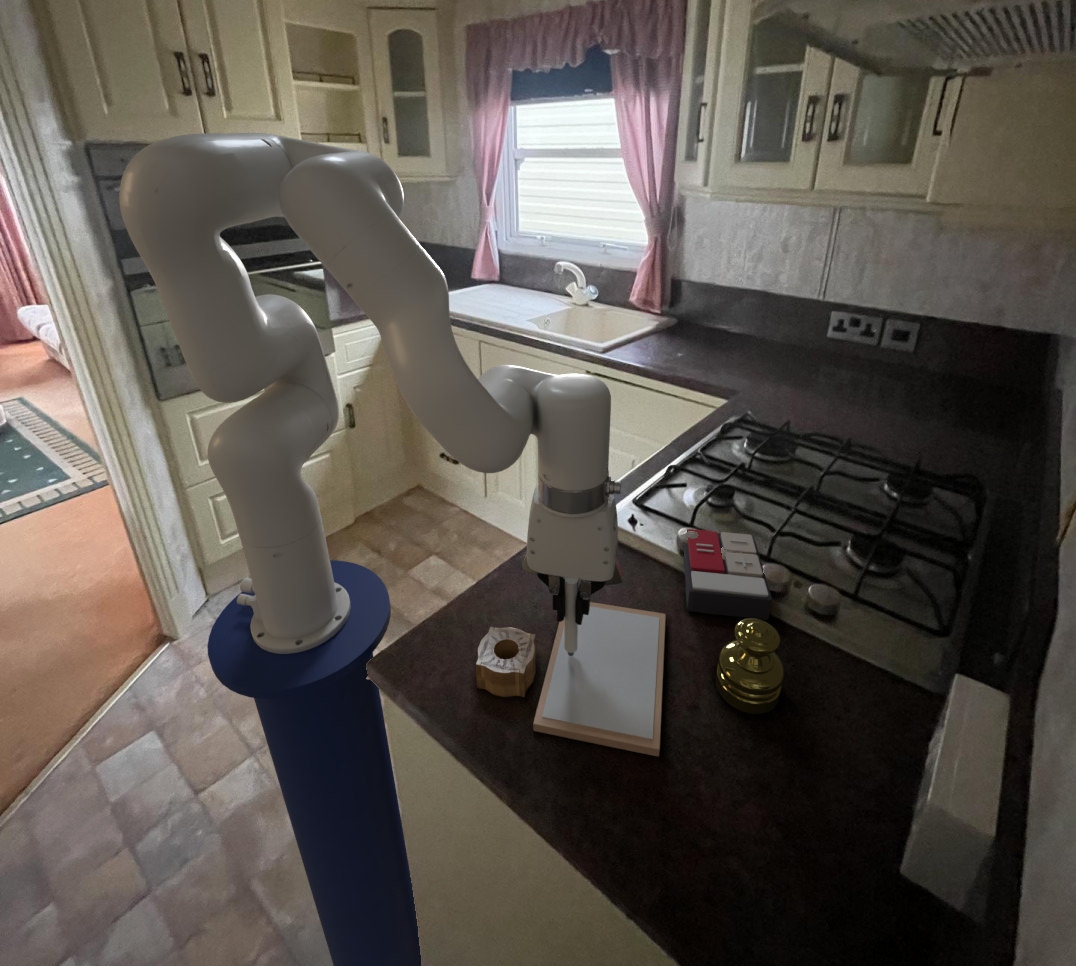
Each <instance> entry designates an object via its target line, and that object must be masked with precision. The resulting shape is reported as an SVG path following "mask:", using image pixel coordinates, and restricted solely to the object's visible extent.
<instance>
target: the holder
mask: <svg viewBox="0 0 1076 966" xmlns="http://www.w3.org/2000/svg"><path fill="white" fill-rule="evenodd" d="M536 637H537V635H536V634H534V633H528V632H525V631H523V630H522V629H521V628H516V627H510V626H507V627H493V626H489V629H488V632H487V634H485V635H484V636H483V637H482V638H481V640H480V642H479V644H478V647H477V648H476V649H477V659H476V661H475V675H476V688H477V689H482V690H486V691H487V692H489V693H490V694H492V695H494V696H498V697H503V698H509V697H514V696H516V697H522V698H525V697H526V694H527V691H528V689H529V688H530V686H531V685H532V684H533V683H534V680H535V677H536V669H537V668H536V667H537V666H536V664H537V663H536V661H537V660H536V658H537V642H536V641H537V638H536Z"/></svg>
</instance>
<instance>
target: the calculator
mask: <svg viewBox="0 0 1076 966" xmlns="http://www.w3.org/2000/svg"><path fill="white" fill-rule="evenodd" d="M686 530H687V532H688V531H695V532H697V533H698V535H699V536H698V538H696V539H695V538H694V539H690V538H688V545H687V544H685V548H684V557H683V556H682V564H683V572H684V573H683V574H684V581H685V601H686V609H687V611H688V612H693V613H700V614H709V615H718V616H727V617H734V618H735V617H736V618H743V619H747V618H755V619H759V620H763V621H767V620H769V617H770V612H771V608H772V603H773V598H772V593H771V590H770V587H769V584H768V580H767V576H766V573H765V572H764V573H765V574H764V573H763V569H764V566H763V563H762V560H761V555H760V552H759V549H758V547H757V542H756V540H755V537H754V536H753V535H751V534H747V533H739V532H738V533H736V532H726V531H722V532H720V533H719V532H717V531H714V530H704V529H692V528H687V529H686ZM722 547H723V548H724V550H727V551H734V552H735V551H736V552H742V553H733V552H725V557H726V560H723V559H722V553H721V548H722Z"/></svg>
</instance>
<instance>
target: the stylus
mask: <svg viewBox="0 0 1076 966" xmlns="http://www.w3.org/2000/svg"><path fill="white" fill-rule="evenodd" d="M564 579H565V645H564V648H565V650H566V651H567V652H568V655H569V656H573V655H574V652H575V651H576V650H577V635H578V625H577V623H575V612H576V596H577V593H578V588H579V579H575V578H568V577H564Z"/></svg>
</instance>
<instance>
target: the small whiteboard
mask: <svg viewBox="0 0 1076 966" xmlns="http://www.w3.org/2000/svg"><path fill="white" fill-rule="evenodd" d="M665 637H666V613H662V612H657V611H650V610H643V609H637V608H630V607H625V606H618V605H612V604H605V603H598V602H593V601H590V609H589V615H583V619H582V624H581V625H578V635H577V650H576V651H575V652H574V655H573V656H569V655H568V652H567V651H566V650H565V648H564V645H565V616H564V620H563V621H562V622H559V621H558V625H557V629H556V634H555V638H554V642H553V645H552V648H551V653H550V657H549V661H548V665H547V668H546V673H545V677H544V681H543V684H542V688H541V692H540V696H539V700H538V703H537V707H536V711H535V716H534V718H533V725H532V727H533V728H532V729H533V732H537V733H542V734H547V735H551V736H555V737H561V738H567V739H571V740H576V741H580V742H585V743H591V744H595V745H600V746H604V747H610V748H615V749H620V750H625V751H630V752H635V753H638V754H643V755H644V754H645V755H648V756H653V757H660V750H661V730H662V729H661V727H662V705H663V685H664V680H663V679H664V664H665V663H664V661H665V641H666V640H665V639H666V638H665Z"/></svg>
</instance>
